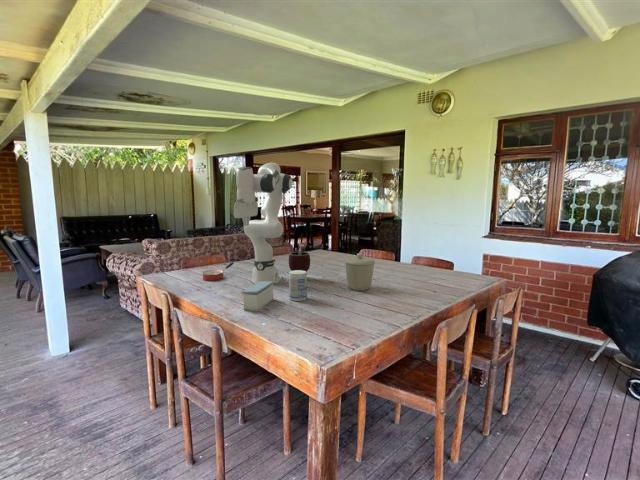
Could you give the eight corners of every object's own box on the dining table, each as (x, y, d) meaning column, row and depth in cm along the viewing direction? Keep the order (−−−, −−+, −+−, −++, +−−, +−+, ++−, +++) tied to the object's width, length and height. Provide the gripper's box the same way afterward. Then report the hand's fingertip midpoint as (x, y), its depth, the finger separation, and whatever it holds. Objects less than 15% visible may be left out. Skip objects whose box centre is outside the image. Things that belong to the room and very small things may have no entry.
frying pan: (221, 270, 262) (221, 261, 261) (238, 270, 259) (238, 262, 258) (198, 280, 230) (198, 271, 230) (217, 281, 228) (217, 272, 227)
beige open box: (261, 298, 193) (260, 283, 192) (273, 299, 191) (273, 284, 190) (243, 310, 174) (243, 294, 173) (257, 311, 172) (256, 295, 171)
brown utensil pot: (309, 282, 226) (309, 250, 224) (287, 282, 227) (287, 250, 224) (310, 276, 242) (310, 246, 239) (290, 276, 242) (289, 246, 239)
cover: (258, 283, 192) (258, 281, 192) (273, 283, 190) (273, 281, 190) (240, 293, 173) (240, 291, 173) (257, 293, 171) (257, 291, 171)
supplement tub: (300, 302, 185) (300, 274, 183) (285, 300, 190) (285, 272, 188) (310, 297, 194) (310, 271, 192) (295, 295, 198) (295, 269, 196)
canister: (373, 293, 201) (374, 256, 199) (341, 291, 205) (342, 255, 202) (375, 285, 219) (376, 251, 216) (345, 283, 223) (346, 250, 220)
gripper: (241, 199, 175) (242, 227, 177) (259, 198, 194) (260, 224, 196) (229, 199, 176) (230, 227, 178) (248, 198, 196) (249, 223, 198)
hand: (246, 225), depth 187 cm, fingers closed
